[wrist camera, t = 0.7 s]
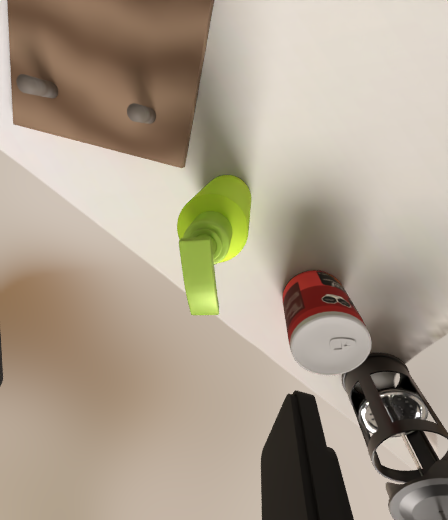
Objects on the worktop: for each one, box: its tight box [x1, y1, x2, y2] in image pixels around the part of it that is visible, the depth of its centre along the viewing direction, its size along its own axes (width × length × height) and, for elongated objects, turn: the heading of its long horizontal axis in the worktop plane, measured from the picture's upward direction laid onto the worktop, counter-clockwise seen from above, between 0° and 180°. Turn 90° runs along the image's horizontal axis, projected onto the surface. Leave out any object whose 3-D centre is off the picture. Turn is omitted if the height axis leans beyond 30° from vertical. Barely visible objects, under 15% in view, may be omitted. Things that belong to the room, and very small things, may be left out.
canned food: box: [283, 270, 372, 375], centre depth 35 cm, size 8×8×11 cm
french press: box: [342, 353, 448, 520], centre depth 33 cm, size 12×9×23 cm
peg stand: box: [7, 0, 214, 168], centre depth 29 cm, size 20×20×6 cm
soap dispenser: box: [177, 175, 251, 315], centre depth 27 cm, size 6×7×20 cm
